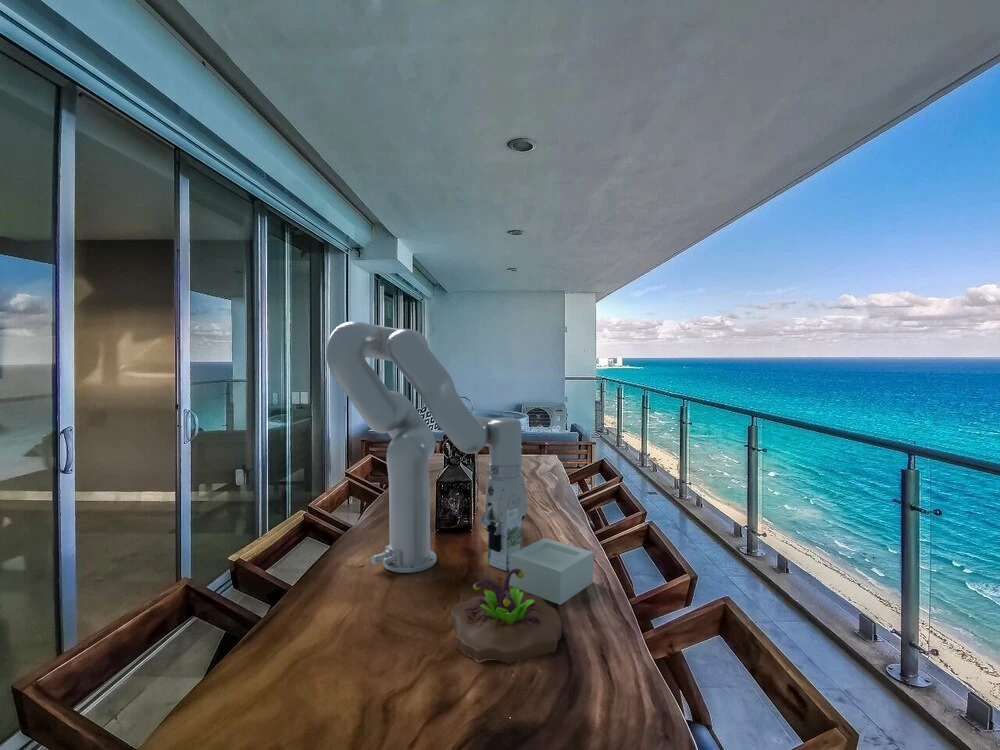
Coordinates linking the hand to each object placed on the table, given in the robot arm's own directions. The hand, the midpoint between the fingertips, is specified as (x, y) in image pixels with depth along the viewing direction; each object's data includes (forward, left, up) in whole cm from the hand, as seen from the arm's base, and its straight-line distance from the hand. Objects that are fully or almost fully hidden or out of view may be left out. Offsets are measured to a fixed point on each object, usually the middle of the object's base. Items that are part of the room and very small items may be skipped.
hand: (504, 545), depth 118 cm
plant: (-20, -19, -5) cm, 28 cm away
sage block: (0, -14, -5) cm, 15 cm away
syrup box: (0, 0, -5) cm, 5 cm away
